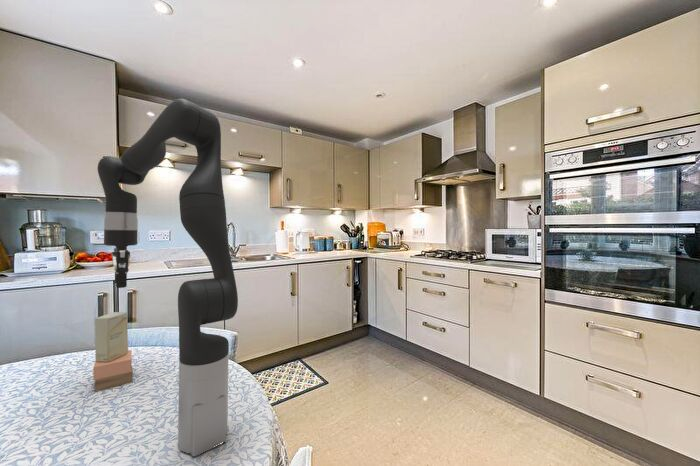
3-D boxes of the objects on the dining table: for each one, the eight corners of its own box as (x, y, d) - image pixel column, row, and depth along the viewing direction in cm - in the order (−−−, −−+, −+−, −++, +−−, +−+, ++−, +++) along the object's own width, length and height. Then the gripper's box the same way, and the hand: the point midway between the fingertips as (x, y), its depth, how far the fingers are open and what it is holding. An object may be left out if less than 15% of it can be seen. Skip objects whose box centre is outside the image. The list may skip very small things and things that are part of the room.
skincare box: (108, 362, 79) (107, 318, 78) (94, 361, 79) (93, 318, 79) (129, 352, 85) (128, 311, 85) (115, 351, 85) (114, 311, 85)
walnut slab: (132, 383, 81) (132, 371, 81) (95, 393, 76) (95, 380, 76) (130, 372, 87) (130, 361, 87) (95, 381, 82) (95, 369, 82)
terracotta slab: (131, 371, 81) (131, 359, 81) (93, 380, 76) (93, 367, 76) (131, 361, 87) (131, 349, 87) (96, 368, 83) (96, 356, 83)
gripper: (140, 229, 79) (139, 287, 79) (135, 228, 90) (134, 280, 90) (104, 228, 74) (103, 291, 74) (103, 228, 85) (102, 283, 85)
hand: (120, 285), depth 82 cm, fingers open, 8 cm apart
